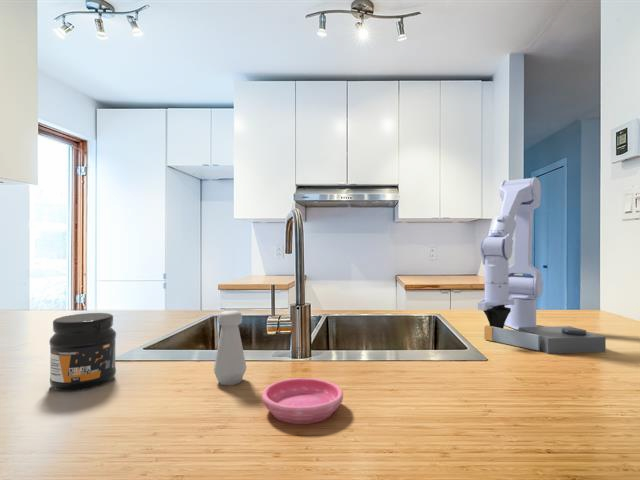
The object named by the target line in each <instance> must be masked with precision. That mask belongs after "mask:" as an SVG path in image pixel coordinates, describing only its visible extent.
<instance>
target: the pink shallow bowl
mask: <svg viewBox="0 0 640 480" xmlns="http://www.w3.org/2000/svg"><path fill="white" fill-rule="evenodd" d="M343 399H344V392H343V389H342V388H341V386H339V385H337V384H336V383H334V382H331V381H329V380H325V379H324V380H323V379H319V378H314V377H313V378H312V377H293V378H286V379H282V380H278V381H275V382H273V383H271V384H269V385H267V386H266V387H265V388H264V389H263V390H262V393H261V401H262V404H263V405H264V406H265V408H266V410H268V411H269V412H270V413H271V414H272V416H273V417H274V418H275V419H277V420H279V421H281V422H283V423H287V424H293V425H309V424H314V423H315V424H316V423H320V422H323V421H325V420H327V419H328V418H330V417H331V416H332V415H333V413H334V412H335V411H336V410H337V409H338V408H339V406H340V405H341V404H342V402H343Z"/></svg>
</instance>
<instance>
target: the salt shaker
mask: <svg viewBox="0 0 640 480" xmlns="http://www.w3.org/2000/svg"><path fill="white" fill-rule="evenodd" d="M217 321H218V324H219V325H220V327H221V328H220V334H219V338H218V344H217V348H216V349H217V350H216V355H215V361H214V367H213V373H214V374H215V378H216V380H217V382H218V383H219V384H220V385H221V386H235V385H237V384H241V383H242V380H243V378H244V375H245V373H246V371H247V364H246V359H245V354H244V348H243V342H242V338H241V333H240V327H239V325H241V323H242V322H243V315H242V313H241V312H240V311H239V310H232V309H231V310H223V311H221V312H220V313H219V314H218V317H217Z"/></svg>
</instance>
